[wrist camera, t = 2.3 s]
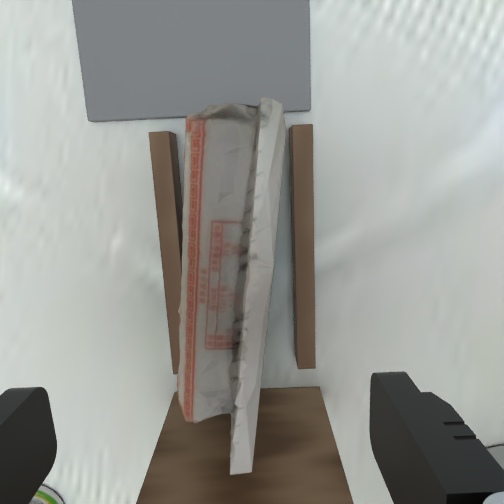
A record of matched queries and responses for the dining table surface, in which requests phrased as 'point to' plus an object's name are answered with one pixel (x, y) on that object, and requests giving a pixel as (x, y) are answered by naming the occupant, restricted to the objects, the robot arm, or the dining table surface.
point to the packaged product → (228, 263)
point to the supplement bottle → (45, 497)
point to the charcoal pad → (191, 55)
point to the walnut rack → (270, 400)
